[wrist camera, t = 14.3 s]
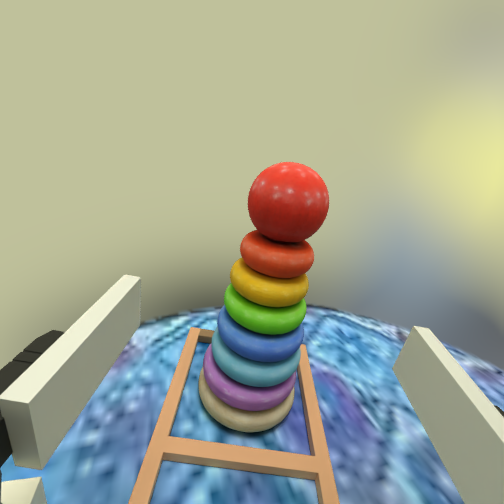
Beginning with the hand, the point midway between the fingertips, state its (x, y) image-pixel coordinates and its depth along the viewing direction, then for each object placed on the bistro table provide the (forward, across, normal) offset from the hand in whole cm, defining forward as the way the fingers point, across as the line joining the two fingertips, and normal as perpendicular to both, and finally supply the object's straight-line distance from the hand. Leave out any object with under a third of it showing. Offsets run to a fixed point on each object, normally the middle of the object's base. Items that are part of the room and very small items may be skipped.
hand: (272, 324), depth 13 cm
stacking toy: (+6, 0, -12) cm, 13 cm away
